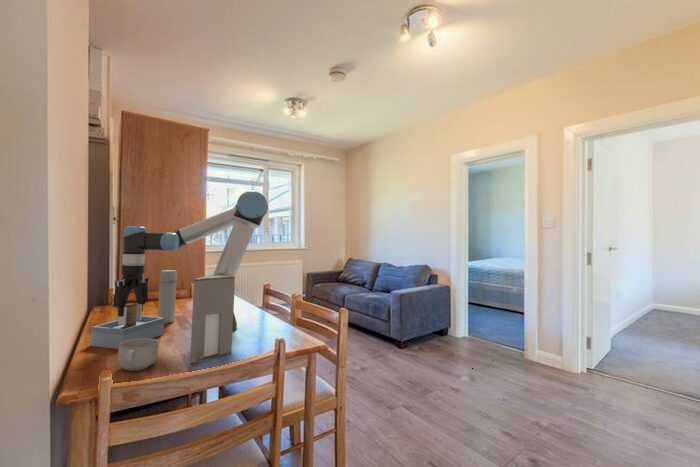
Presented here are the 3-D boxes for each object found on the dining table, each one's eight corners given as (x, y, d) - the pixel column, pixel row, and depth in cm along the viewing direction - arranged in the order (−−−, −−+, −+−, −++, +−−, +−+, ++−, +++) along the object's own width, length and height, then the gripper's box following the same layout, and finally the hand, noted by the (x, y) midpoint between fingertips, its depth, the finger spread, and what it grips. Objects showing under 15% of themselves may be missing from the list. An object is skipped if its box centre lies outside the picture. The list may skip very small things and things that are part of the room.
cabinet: (215, 344, 127) (219, 273, 127) (240, 345, 127) (243, 274, 127) (189, 364, 106) (194, 279, 107) (219, 365, 106) (223, 280, 107)
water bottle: (169, 324, 153) (172, 271, 154) (153, 323, 153) (156, 271, 154) (180, 319, 162) (182, 270, 163) (164, 319, 162) (167, 269, 163)
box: (163, 334, 137) (164, 317, 137) (122, 349, 117) (123, 330, 118) (135, 331, 140) (136, 315, 140) (90, 345, 120) (91, 326, 120)
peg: (137, 338, 130) (139, 303, 131) (129, 341, 126) (131, 305, 127) (129, 337, 131) (131, 303, 131) (120, 340, 127) (122, 305, 127)
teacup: (130, 360, 107) (131, 336, 107) (164, 361, 108) (165, 337, 108) (101, 378, 93) (103, 350, 93) (140, 378, 94) (142, 351, 94)
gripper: (145, 262, 140) (142, 316, 139) (102, 265, 120) (99, 327, 120) (160, 263, 138) (157, 317, 138) (119, 266, 119) (116, 329, 118)
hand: (130, 322), depth 129 cm, fingers open, 7 cm apart
